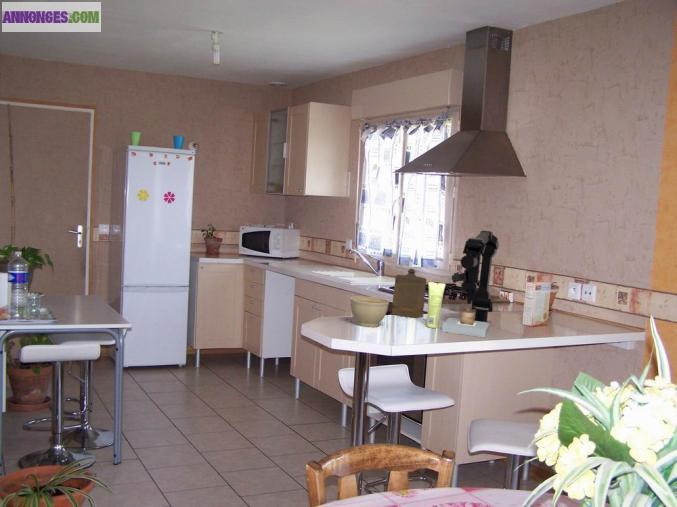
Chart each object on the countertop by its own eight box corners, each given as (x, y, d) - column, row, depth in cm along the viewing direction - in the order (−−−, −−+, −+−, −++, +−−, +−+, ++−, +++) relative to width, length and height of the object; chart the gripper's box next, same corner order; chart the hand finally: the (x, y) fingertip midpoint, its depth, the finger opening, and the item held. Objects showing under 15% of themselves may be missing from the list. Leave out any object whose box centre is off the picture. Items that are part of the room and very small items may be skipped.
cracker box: (536, 323, 348) (541, 280, 346) (547, 325, 344) (552, 282, 342) (520, 324, 338) (525, 281, 337) (531, 327, 334) (536, 283, 332)
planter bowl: (343, 320, 304) (346, 295, 303) (379, 322, 308) (382, 297, 307) (354, 328, 288) (356, 301, 287) (391, 329, 292) (394, 303, 291)
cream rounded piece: (460, 328, 311) (462, 310, 310) (473, 330, 309) (475, 312, 309) (458, 330, 305) (460, 312, 305) (472, 332, 304) (474, 314, 303)
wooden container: (415, 312, 345) (420, 268, 343) (427, 318, 331) (432, 271, 329) (387, 311, 341) (391, 266, 339) (397, 317, 327) (402, 269, 325)
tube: (431, 325, 311) (436, 281, 310) (441, 327, 308) (445, 283, 306) (423, 326, 307) (428, 282, 306) (433, 328, 304) (438, 283, 302)
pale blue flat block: (448, 323, 320) (449, 317, 320) (489, 329, 316) (489, 322, 315) (441, 331, 299) (442, 324, 299) (484, 337, 294) (485, 330, 294)
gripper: (456, 264, 316) (452, 299, 318) (451, 267, 299) (447, 303, 300) (481, 267, 313) (478, 302, 315) (477, 270, 295) (473, 307, 297)
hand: (468, 303), depth 306 cm, fingers closed
